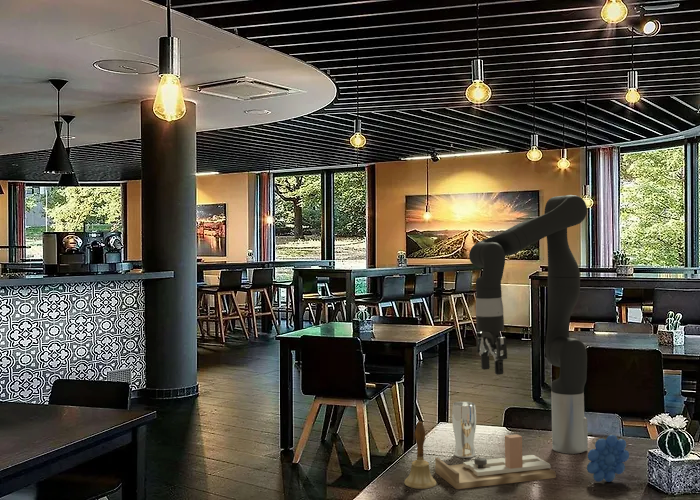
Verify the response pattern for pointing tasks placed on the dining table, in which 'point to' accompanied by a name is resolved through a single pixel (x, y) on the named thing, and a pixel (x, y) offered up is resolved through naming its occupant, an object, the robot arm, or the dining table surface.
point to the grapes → (607, 458)
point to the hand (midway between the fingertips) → (492, 371)
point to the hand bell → (420, 464)
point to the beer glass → (464, 428)
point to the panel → (503, 469)
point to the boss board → (467, 479)
